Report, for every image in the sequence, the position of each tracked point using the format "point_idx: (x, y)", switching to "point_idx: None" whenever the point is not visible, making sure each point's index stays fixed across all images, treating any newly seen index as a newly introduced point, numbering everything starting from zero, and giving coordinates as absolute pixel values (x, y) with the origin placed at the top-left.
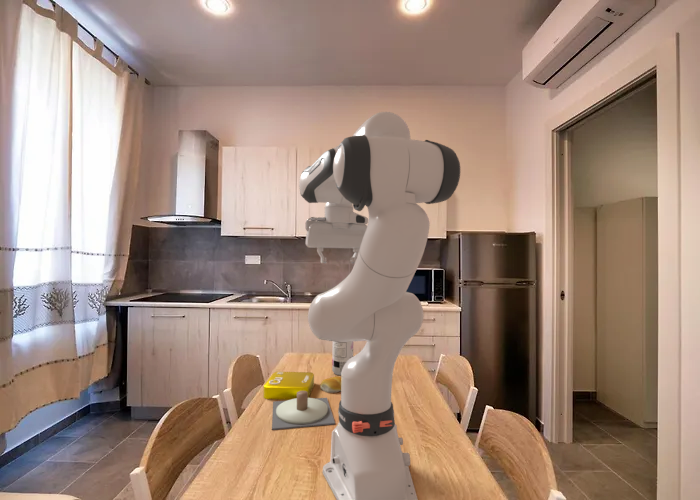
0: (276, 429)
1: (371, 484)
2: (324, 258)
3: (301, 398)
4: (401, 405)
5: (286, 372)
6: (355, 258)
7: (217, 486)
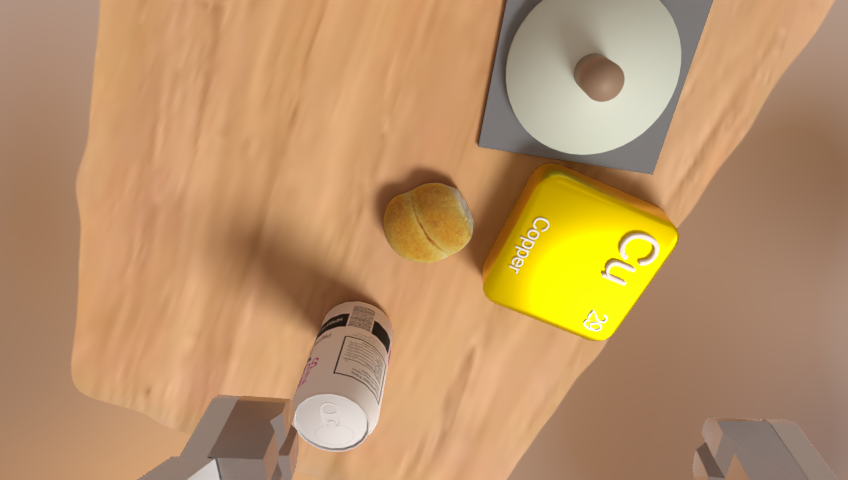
0: None
1: None
2: (785, 469)
3: (610, 60)
4: (251, 10)
5: (571, 323)
6: (199, 441)
7: None
